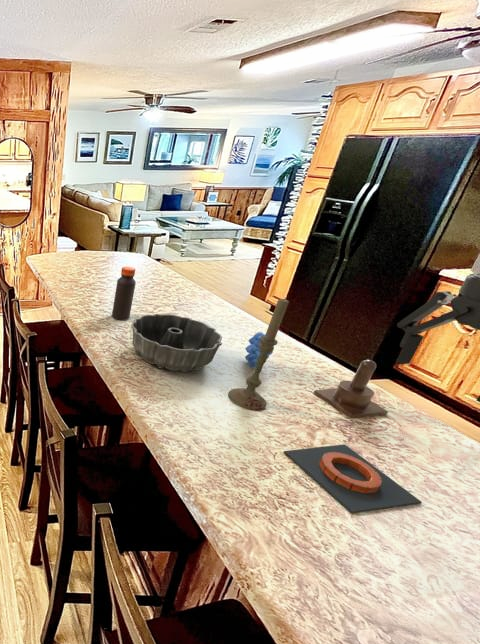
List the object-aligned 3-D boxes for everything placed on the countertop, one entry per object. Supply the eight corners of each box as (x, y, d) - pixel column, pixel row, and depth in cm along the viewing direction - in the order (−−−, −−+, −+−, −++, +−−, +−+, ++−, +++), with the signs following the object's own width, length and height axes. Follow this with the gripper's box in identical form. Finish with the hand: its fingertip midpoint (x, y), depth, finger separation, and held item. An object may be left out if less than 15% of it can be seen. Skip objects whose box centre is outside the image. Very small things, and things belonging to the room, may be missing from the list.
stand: (386, 414, 101) (412, 370, 95) (350, 418, 99) (374, 373, 93) (346, 390, 110) (367, 348, 104) (313, 392, 109) (332, 351, 103)
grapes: (274, 378, 115) (288, 343, 109) (249, 375, 116) (261, 340, 111) (260, 359, 125) (272, 326, 120) (237, 356, 126) (248, 323, 121)
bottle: (130, 321, 150) (139, 271, 141) (112, 319, 150) (120, 270, 142) (128, 314, 156) (136, 266, 147) (110, 312, 157) (118, 265, 148)
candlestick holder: (233, 407, 102) (270, 302, 89) (223, 387, 110) (256, 289, 97) (271, 413, 100) (315, 306, 87) (259, 393, 108) (297, 292, 95)
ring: (391, 490, 78) (394, 484, 77) (350, 495, 76) (353, 490, 76) (345, 455, 86) (348, 450, 86) (308, 459, 85) (311, 454, 84)
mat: (420, 503, 76) (422, 501, 75) (351, 513, 73) (352, 511, 73) (343, 445, 90) (344, 444, 90) (283, 452, 87) (284, 450, 87)
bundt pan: (109, 348, 130) (114, 321, 126) (164, 333, 141) (170, 307, 137) (173, 389, 109) (181, 358, 105) (232, 367, 120) (242, 339, 116)
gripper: (403, 259, 78) (360, 351, 87) (595, 306, 55) (510, 423, 65) (433, 258, 79) (388, 349, 88) (633, 303, 57) (544, 418, 66)
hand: (440, 380), depth 76 cm, fingers open, 13 cm apart
